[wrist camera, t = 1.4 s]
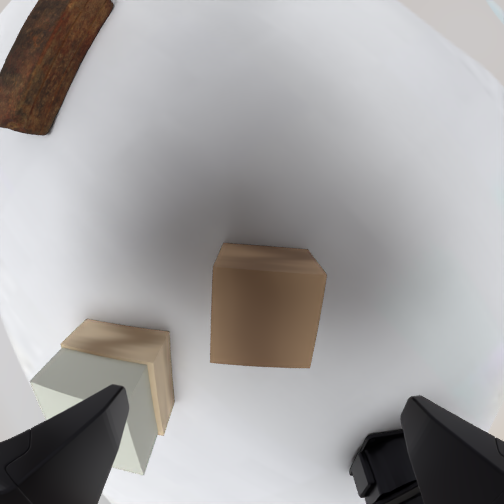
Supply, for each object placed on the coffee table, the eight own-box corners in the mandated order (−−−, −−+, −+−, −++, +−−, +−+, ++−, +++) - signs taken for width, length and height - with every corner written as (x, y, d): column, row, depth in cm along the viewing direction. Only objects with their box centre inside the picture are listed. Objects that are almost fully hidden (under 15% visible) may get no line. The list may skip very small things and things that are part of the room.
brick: (80, 3, 13) (50, -22, 9) (117, 6, 14) (89, -25, 9) (20, 126, 16) (-22, 121, 11) (52, 138, 16) (8, 133, 12)
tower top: (147, 364, 16) (123, 410, 12) (158, 432, 17) (143, 475, 13) (62, 347, 16) (29, 381, 12) (82, 414, 17) (60, 449, 13)
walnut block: (307, 248, 18) (326, 275, 13) (297, 323, 19) (309, 368, 14) (223, 242, 18) (212, 266, 13) (219, 318, 19) (210, 362, 14)
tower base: (169, 330, 19) (153, 363, 16) (175, 400, 21) (163, 435, 17) (87, 317, 19) (60, 343, 15) (101, 386, 21) (82, 415, 17)
